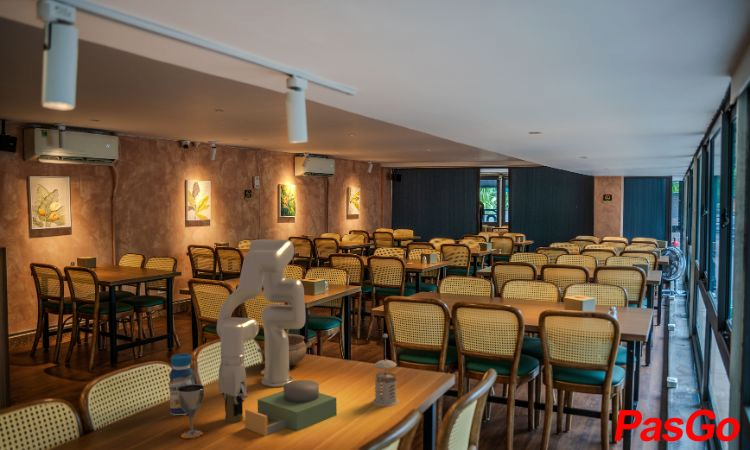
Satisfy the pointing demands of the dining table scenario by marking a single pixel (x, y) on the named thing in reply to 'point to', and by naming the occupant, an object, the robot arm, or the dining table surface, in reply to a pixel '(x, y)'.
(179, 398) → the wine glass
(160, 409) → the dining table surface
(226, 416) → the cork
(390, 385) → the french press
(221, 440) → the dining table surface
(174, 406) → the beverage bottle
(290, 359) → the cooking pot
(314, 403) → the green box with dome
